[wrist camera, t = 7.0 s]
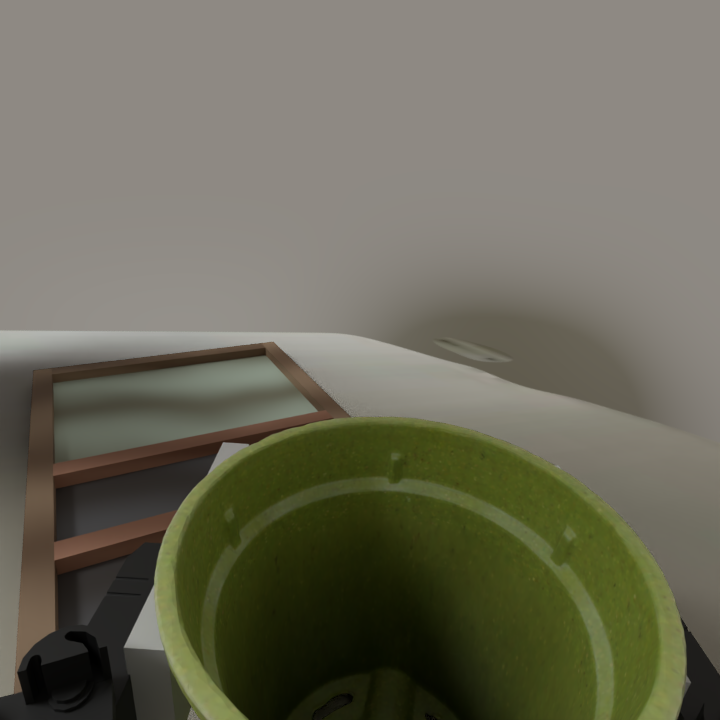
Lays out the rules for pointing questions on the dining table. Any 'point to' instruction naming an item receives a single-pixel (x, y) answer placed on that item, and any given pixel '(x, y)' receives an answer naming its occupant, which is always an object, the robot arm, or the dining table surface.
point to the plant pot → (411, 584)
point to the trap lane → (135, 461)
